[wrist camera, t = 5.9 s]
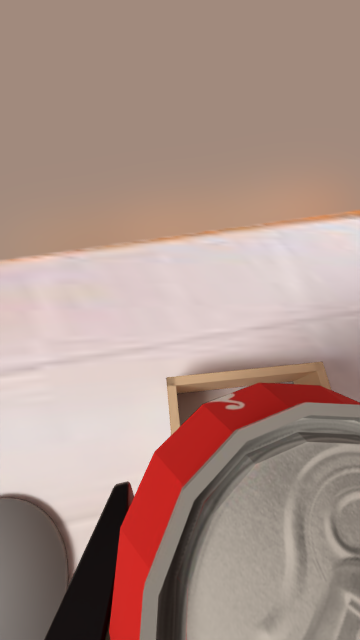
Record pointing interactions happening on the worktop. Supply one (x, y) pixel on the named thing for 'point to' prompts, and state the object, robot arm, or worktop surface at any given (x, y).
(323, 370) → the carton
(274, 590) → the soda can
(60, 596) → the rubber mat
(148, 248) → the worktop surface
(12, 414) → the worktop surface
